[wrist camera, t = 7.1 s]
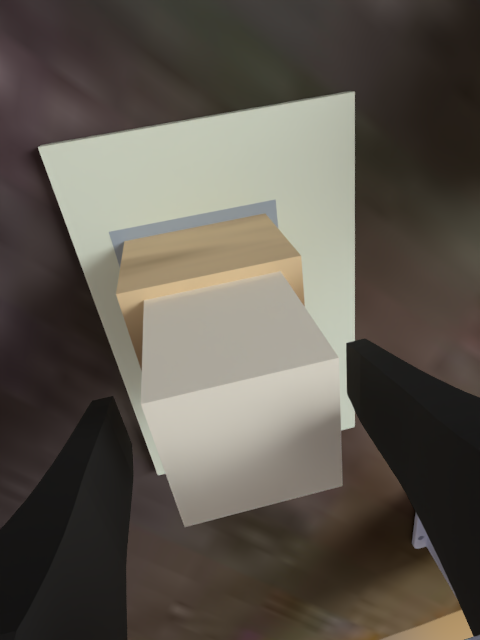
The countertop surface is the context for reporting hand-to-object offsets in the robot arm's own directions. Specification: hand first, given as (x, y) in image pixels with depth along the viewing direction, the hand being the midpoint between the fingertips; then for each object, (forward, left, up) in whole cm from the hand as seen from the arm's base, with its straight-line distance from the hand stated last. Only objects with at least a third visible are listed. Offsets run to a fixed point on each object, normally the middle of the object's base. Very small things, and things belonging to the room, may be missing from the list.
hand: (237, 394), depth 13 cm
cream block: (0, 0, -2) cm, 2 cm away
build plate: (-2, -1, -8) cm, 8 cm away
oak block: (0, 0, -7) cm, 7 cm away
